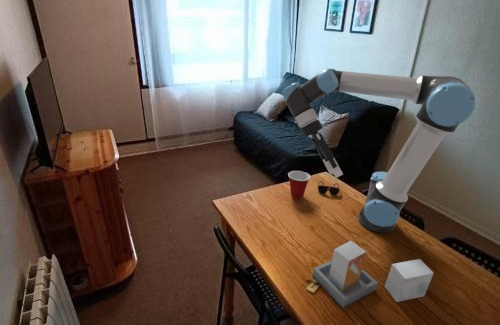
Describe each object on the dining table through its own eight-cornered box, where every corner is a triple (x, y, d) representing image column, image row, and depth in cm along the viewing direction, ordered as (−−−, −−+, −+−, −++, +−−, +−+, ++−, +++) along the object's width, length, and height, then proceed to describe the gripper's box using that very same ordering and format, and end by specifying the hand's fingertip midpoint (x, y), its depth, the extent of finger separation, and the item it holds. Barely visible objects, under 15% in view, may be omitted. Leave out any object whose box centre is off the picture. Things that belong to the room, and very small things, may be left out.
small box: (342, 292, 95) (349, 261, 89) (328, 279, 100) (333, 248, 94) (359, 281, 99) (366, 251, 93) (344, 269, 104) (350, 239, 98)
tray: (343, 261, 108) (345, 254, 107) (375, 290, 97) (377, 282, 95) (312, 275, 102) (313, 268, 100) (342, 308, 91) (344, 300, 89)
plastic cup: (311, 194, 149) (314, 173, 144) (303, 204, 141) (305, 182, 136) (292, 188, 155) (293, 167, 149) (282, 197, 146) (284, 176, 141)
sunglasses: (316, 194, 150) (318, 184, 149) (318, 185, 161) (319, 176, 160) (338, 197, 148) (340, 188, 146) (338, 188, 159) (339, 179, 157)
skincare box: (397, 303, 93) (405, 278, 88) (384, 286, 98) (391, 263, 94) (425, 297, 95) (434, 272, 90) (411, 281, 101) (419, 257, 96)
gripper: (298, 130, 123) (323, 176, 122) (301, 125, 98) (331, 182, 97) (315, 122, 122) (339, 168, 121) (322, 114, 97) (353, 172, 96)
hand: (336, 174), depth 109 cm, fingers open, 13 cm apart
